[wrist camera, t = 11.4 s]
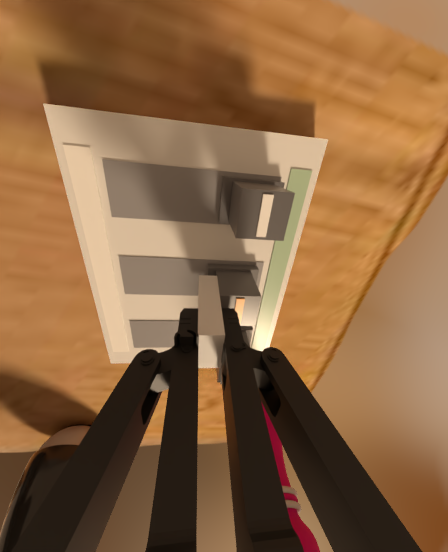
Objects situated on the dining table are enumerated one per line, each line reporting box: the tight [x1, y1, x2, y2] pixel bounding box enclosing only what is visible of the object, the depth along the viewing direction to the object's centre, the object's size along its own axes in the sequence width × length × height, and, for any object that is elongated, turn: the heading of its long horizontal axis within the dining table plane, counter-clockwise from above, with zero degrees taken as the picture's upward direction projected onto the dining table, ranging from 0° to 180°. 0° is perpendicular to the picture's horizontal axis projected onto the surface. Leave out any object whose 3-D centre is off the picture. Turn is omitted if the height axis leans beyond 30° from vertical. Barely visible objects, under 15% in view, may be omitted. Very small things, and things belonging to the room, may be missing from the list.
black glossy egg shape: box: [0, 425, 91, 552], centre depth 27 cm, size 10×10×15 cm
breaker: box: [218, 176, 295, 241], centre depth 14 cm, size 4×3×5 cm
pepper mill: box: [262, 404, 320, 552], centre depth 22 cm, size 7×7×20 cm
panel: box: [43, 103, 328, 363], centre depth 20 cm, size 18×23×2 cm
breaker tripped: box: [207, 264, 262, 326], centre depth 17 cm, size 4×3×5 cm
